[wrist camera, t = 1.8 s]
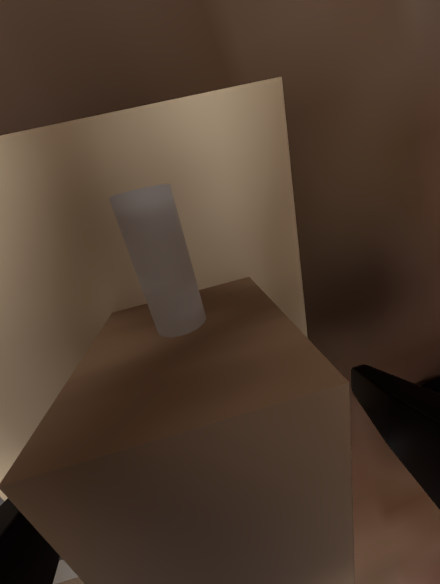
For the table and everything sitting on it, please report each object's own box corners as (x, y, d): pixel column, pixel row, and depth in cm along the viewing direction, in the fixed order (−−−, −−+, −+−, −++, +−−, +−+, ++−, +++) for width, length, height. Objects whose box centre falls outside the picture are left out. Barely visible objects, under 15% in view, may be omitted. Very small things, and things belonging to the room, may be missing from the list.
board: (262, 100, 7) (325, 20, 4) (303, 420, 13) (346, 495, 9) (-511, 266, 6) (-1280, 335, 3) (-119, 548, 11) (-241, 688, 8)
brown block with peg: (231, 176, 7) (342, 112, 2) (277, 428, 10) (355, 610, 6) (69, 214, 6) (-227, 237, 2) (175, 458, 10) (169, 677, 5)
